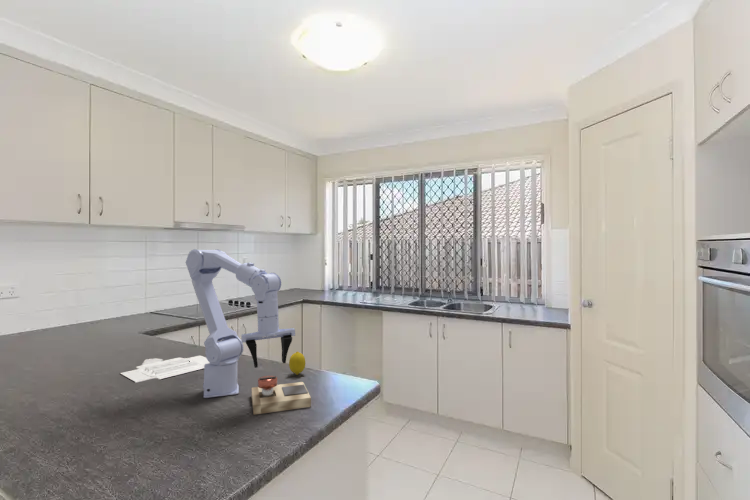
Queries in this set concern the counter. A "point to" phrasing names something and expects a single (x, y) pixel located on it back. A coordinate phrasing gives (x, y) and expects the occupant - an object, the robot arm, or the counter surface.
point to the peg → (267, 385)
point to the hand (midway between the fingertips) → (270, 364)
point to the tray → (165, 368)
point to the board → (281, 398)
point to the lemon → (297, 363)
